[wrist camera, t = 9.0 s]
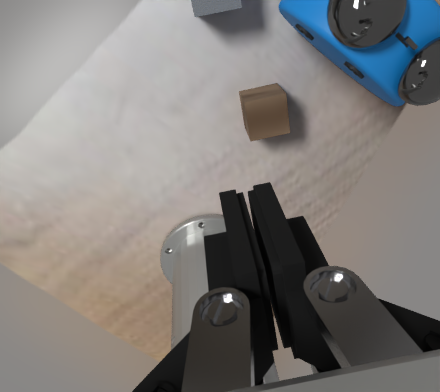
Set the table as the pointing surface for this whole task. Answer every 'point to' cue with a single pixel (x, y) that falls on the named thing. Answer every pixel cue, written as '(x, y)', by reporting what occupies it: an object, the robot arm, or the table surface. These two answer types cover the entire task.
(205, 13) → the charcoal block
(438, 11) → the alarm clock
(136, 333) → the table surface
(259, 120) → the walnut block
